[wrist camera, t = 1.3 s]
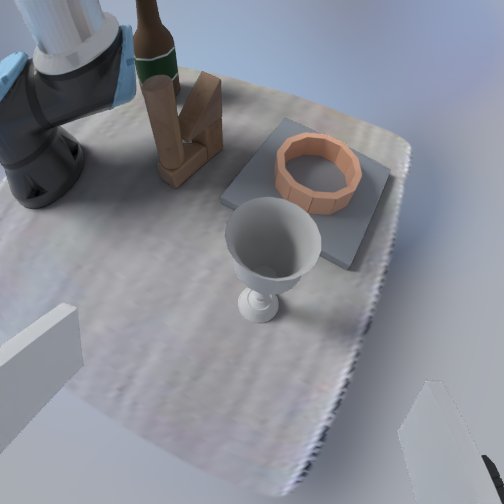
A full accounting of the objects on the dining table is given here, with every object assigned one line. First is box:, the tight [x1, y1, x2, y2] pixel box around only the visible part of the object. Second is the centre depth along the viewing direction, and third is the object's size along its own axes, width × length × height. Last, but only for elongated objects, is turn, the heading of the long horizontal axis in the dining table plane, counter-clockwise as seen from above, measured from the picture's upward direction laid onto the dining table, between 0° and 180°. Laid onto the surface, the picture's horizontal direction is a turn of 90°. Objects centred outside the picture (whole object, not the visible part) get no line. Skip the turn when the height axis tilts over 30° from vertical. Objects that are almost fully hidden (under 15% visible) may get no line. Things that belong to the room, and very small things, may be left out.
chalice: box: [225, 197, 321, 323], centre depth 32 cm, size 7×7×18 cm
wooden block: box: [142, 71, 223, 189], centre depth 41 cm, size 4×11×18 cm, turn 141°
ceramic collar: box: [274, 132, 362, 215], centre depth 45 cm, size 12×12×4 cm
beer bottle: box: [133, 0, 180, 96], centre depth 46 cm, size 8×8×24 cm
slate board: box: [220, 118, 391, 270], centre depth 47 cm, size 20×20×2 cm
